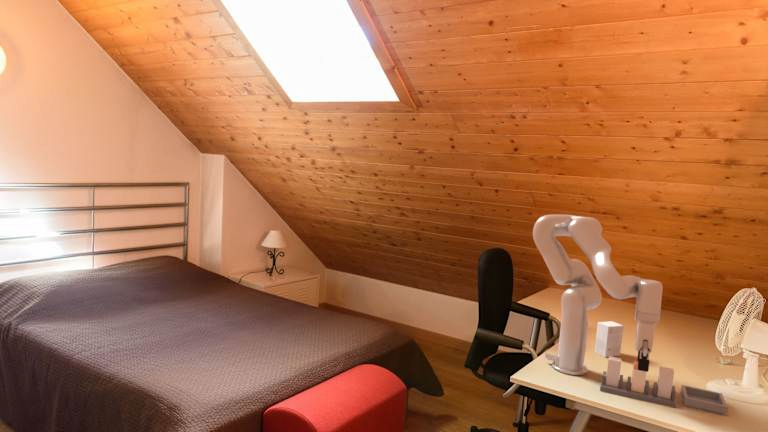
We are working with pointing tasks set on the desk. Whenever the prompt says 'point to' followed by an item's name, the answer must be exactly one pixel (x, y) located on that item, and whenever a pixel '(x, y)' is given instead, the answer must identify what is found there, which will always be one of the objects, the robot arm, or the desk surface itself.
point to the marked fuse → (638, 379)
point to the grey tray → (703, 400)
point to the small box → (608, 339)
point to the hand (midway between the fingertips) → (642, 366)
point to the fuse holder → (657, 394)
